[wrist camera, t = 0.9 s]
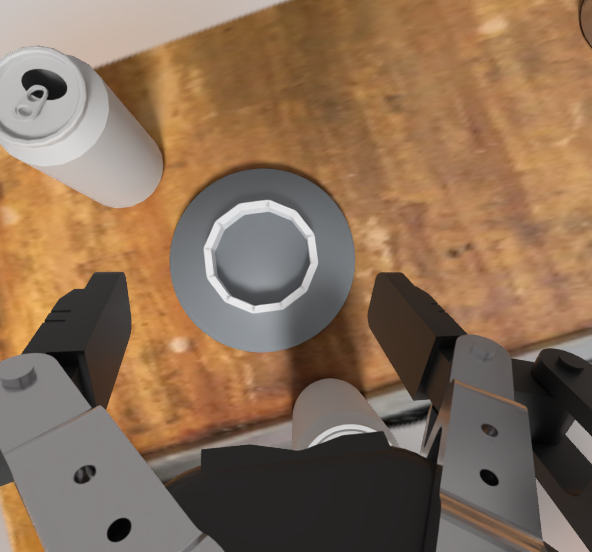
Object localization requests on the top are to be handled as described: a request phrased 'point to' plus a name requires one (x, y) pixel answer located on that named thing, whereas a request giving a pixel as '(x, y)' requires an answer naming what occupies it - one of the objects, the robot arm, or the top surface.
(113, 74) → the top surface
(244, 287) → the dock
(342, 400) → the beverage can
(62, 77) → the can
